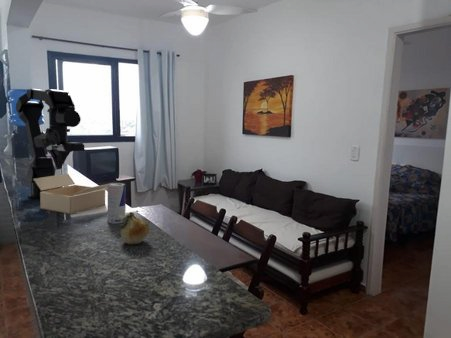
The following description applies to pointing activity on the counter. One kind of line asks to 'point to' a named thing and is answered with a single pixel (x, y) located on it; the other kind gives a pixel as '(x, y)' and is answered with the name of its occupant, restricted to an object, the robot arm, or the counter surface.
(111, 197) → the energy drink
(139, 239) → the onion
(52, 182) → the flap
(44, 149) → the robot arm
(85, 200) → the carton
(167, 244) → the counter surface
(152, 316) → the counter surface
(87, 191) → the flap
